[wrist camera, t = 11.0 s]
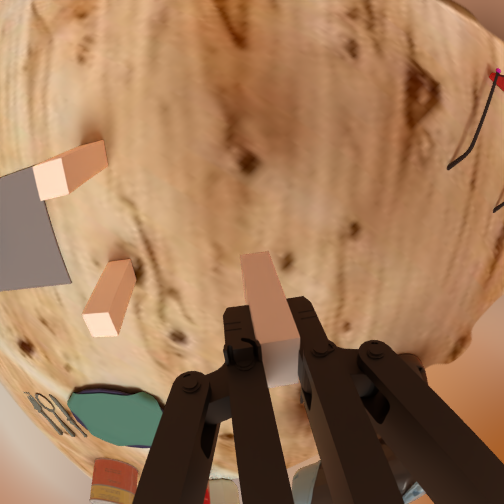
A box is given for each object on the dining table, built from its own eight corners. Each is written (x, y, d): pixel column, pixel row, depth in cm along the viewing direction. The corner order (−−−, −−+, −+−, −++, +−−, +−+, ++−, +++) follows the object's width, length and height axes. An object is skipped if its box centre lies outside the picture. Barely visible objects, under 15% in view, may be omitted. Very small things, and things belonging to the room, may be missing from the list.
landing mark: (35, 165, 24) (35, 165, 24) (71, 282, 30) (71, 283, 30) (-40, 194, 23) (-41, 195, 23) (-5, 291, 29) (-5, 291, 29)
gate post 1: (103, 139, 24) (61, 157, 16) (108, 166, 25) (69, 193, 18) (79, 145, 24) (32, 166, 16) (84, 171, 25) (40, 201, 17)
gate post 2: (130, 258, 30) (108, 312, 22) (136, 279, 31) (118, 335, 24) (108, 261, 30) (81, 314, 22) (115, 282, 31) (92, 337, 23)
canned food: (90, 464, 54) (85, 502, 44) (100, 454, 51) (95, 497, 40) (129, 477, 58) (127, 514, 48) (144, 468, 55) (143, 510, 45)
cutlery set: (191, 440, 49) (191, 450, 47) (63, 433, 48) (61, 441, 45) (159, 379, 40) (158, 391, 38) (14, 375, 38) (10, 384, 36)
